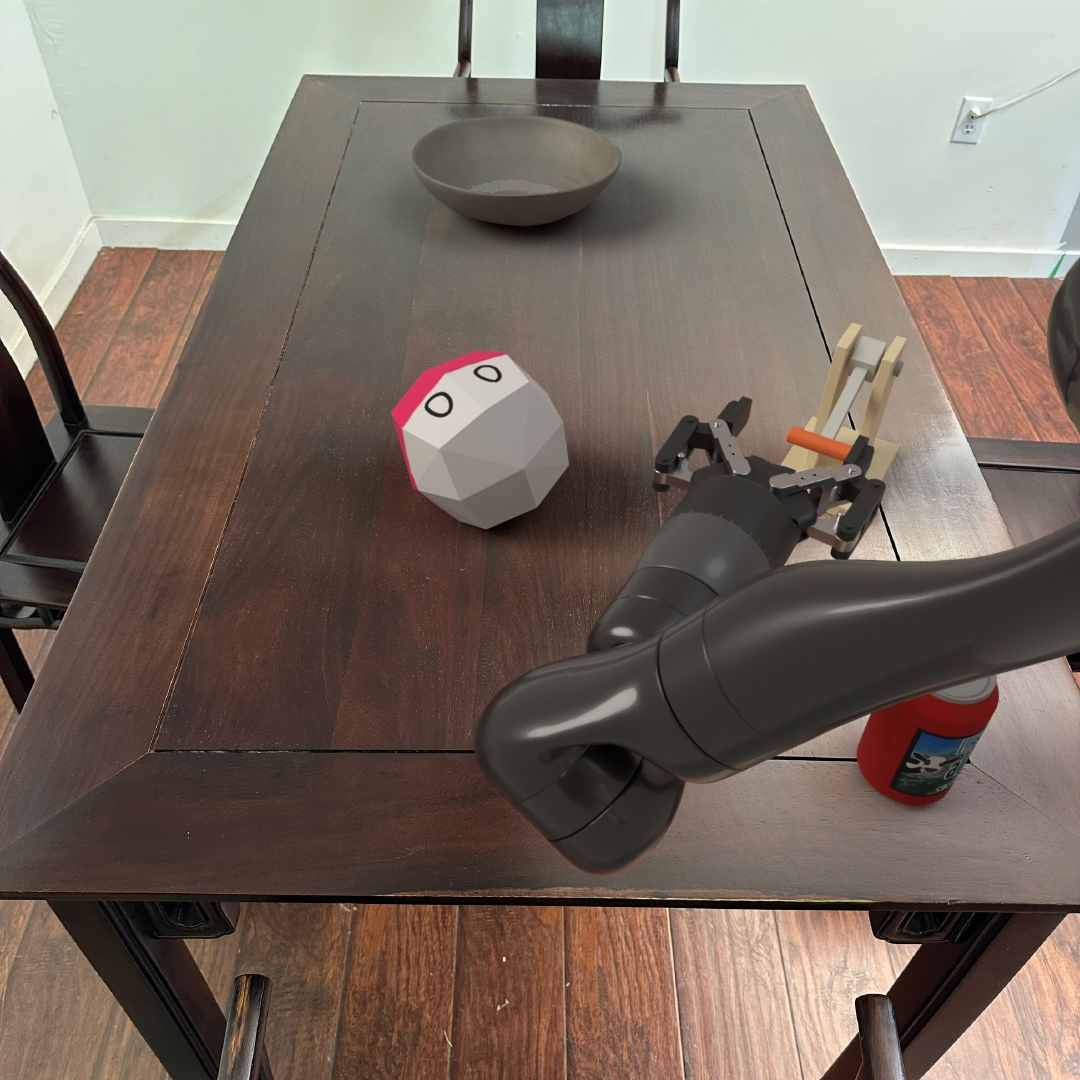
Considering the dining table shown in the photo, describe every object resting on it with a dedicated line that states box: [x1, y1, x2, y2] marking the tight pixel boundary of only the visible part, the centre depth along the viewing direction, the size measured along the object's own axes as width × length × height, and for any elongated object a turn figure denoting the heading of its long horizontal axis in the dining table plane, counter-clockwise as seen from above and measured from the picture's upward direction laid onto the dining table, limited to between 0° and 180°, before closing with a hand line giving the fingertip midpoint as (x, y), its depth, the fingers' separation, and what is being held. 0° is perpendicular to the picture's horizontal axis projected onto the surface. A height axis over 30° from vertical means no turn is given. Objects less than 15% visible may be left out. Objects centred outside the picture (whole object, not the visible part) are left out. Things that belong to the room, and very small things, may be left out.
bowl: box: [410, 114, 623, 227], centre depth 131 cm, size 27×28×8 cm
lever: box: [786, 335, 888, 462], centre depth 83 cm, size 12×6×2 cm, turn 149°
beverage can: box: [856, 675, 1000, 807], centre depth 65 cm, size 7×7×12 cm
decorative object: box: [390, 350, 570, 530], centre depth 86 cm, size 15×15×15 cm
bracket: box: [780, 322, 908, 516], centre depth 89 cm, size 12×9×15 cm
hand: (802, 426), depth 68 cm, fingers open, 8 cm apart
